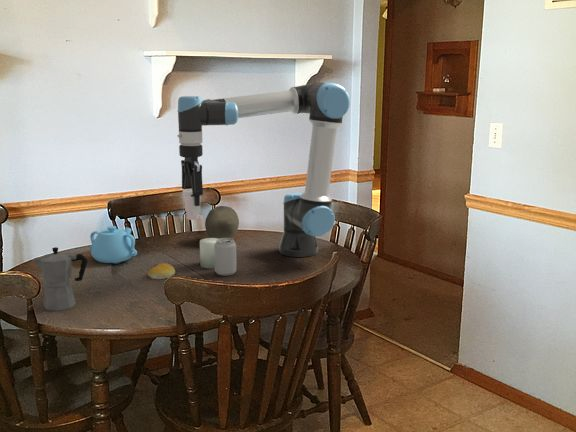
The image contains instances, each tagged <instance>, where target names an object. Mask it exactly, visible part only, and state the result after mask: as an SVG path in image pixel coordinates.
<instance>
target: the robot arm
mask: <svg viewBox="0 0 576 432" xmlns="http://www.w3.org/2000/svg"><path fill="white" fill-rule="evenodd" d="M350 105H351V100H350V95H349V92H348V91H347V90H346V88H345V87H343V86H342V85H340V84H338V83H334V82H319V81H318V82H310V83H308V84H302V85H298V86H291V87H290V88H289V89H288V90H281V91H273V92H265V93H256V94H248V95H240V96H231V97H224V98H217V99H211V98H209V99H204V100H203V99H202V97H201V96H197V95H196V96H195V95H188V96H187V95H185V96H179V97H178V100H177V120H178V134H177V138H178V143H179V145H178V146H179V147H178V151H179V153H178V155H179V156H180V157H181V158H184V159H182V160H180V164H181V188H182V190H185V189H192V193H193V195H191V197H192V216H196V215H199V216H201V215H202V214H201V213H202V212H201V211H202V210H201V209H202V207H201V198H200V196H201V197H202V196H203V195H204V191H203V189H204V188H203V164H199V158H200V157H203V155H204V154H203V145H202V144H203V126H232V125H236V124H237V123H238V119H242V118H243V119H244V118H249V117H257V116H268V115H272V114H273V115H274V114H282V113H288V112H289V113H290V112H291V113H292V114H294V115H295V114H309V119H308V120H309V122H310V123H311V125H312V130H311V139H310V145H309V154H308V162H307V163H308V164H307V170H306V171H307V172H306V180H305V187H304V192H294V193H293V192H291V193H287V194H285V195H284V196H283V203H282V204H283V233H282V236H281V239H280V242H279V245H278V251H279V253H280V254H281V255H284V256H287V257H293V258H306V257H312V256H315V255H317V254H318V253H319V245H318V242H317V238H318V237H323V236H325V235H327V234H328V233H329V232H331V230H332V229H333V227H334V225H335V221H336V220H335V219H336V218H335V217H336V216H335V214H334V212H333V209H332V204H333V203H332V202H333V199H332V198H331V196H330V193H329V192H330V184H331V177H332V170H333V169H332V168H333V161H334V154H335V147H336V146H335V145H336V138H337V137H336V136H337V129H338V127H340V126H341V125H342V124H343V117H344V116H345V115H346V113H348V111H349V109H350ZM184 211H185V212H186V207H185V206H184ZM316 237H317V238H316Z"/></svg>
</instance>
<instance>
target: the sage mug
mask: <svg viewBox="0 0 576 432" xmlns="http://www.w3.org/2000/svg"><path fill="white" fill-rule="evenodd" d="M217 239H218V238H210V237H206V238H201V239H200V240H199V266H200V267H201V268H203V267H204V269H215V257H214V244H215V243H216V240H217Z"/></svg>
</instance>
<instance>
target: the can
mask: <svg viewBox="0 0 576 432" xmlns="http://www.w3.org/2000/svg"><path fill="white" fill-rule="evenodd" d="M214 257H215V268H214V272H215V273H216V275H219V276H224V277H226V276H227V277H229V276H233V275H234V274H235V273H236V272H237V244H236V242H235V239H233V238H220V239H217V240H216V243H215V244H214Z"/></svg>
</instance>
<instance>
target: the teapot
mask: <svg viewBox="0 0 576 432" xmlns="http://www.w3.org/2000/svg"><path fill="white" fill-rule="evenodd" d="M95 234H96V237H95ZM89 236H90V241H91V245H90V246H89V250H90V251H91V254H90V255H91V257H93V259H94V260H95V261H97V262H99V263H102V264H103V263H104V264H114V265H118V264H120V263H122V262H126V261H129V260H130V259H132V257H136V256H137V255H138V251H137V250H136V249H135V245H136V238H135V236H134V235H132V228H130V227H125V228H124V229H122V228H117V226H116V225H109V226H107V229H104V230H101V231H98V230H95V231H92V232H91V233H90V235H89Z"/></svg>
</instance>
